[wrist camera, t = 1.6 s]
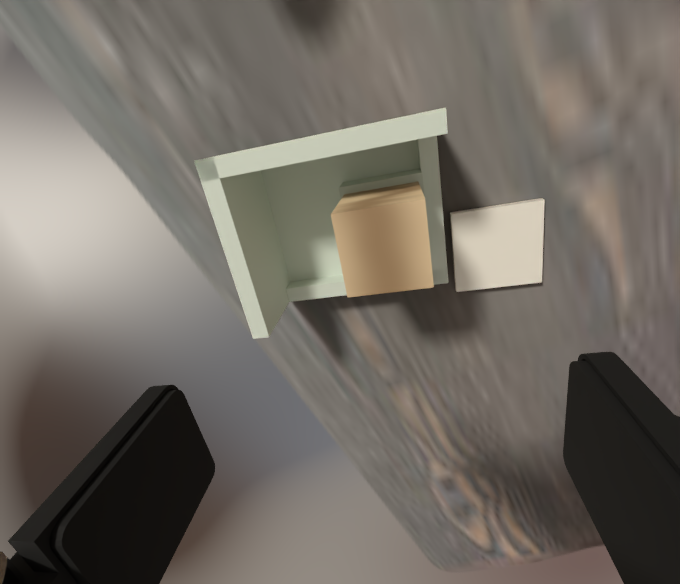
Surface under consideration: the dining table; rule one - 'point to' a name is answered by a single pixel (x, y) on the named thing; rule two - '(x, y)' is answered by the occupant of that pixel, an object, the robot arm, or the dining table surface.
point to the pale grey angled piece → (314, 206)
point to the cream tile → (498, 245)
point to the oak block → (383, 240)
